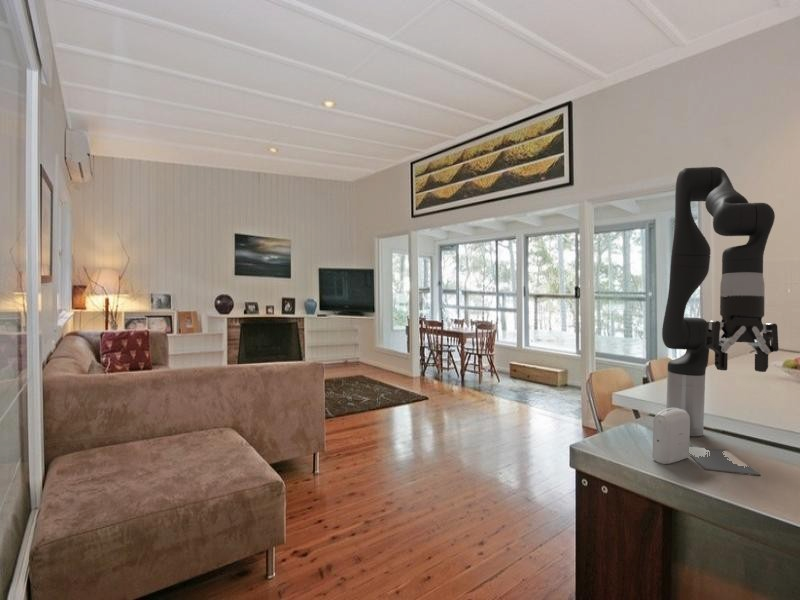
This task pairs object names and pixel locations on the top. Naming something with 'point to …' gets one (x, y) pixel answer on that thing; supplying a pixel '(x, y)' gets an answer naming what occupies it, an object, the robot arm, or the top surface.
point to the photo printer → (671, 435)
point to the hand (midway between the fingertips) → (741, 370)
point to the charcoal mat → (721, 463)
